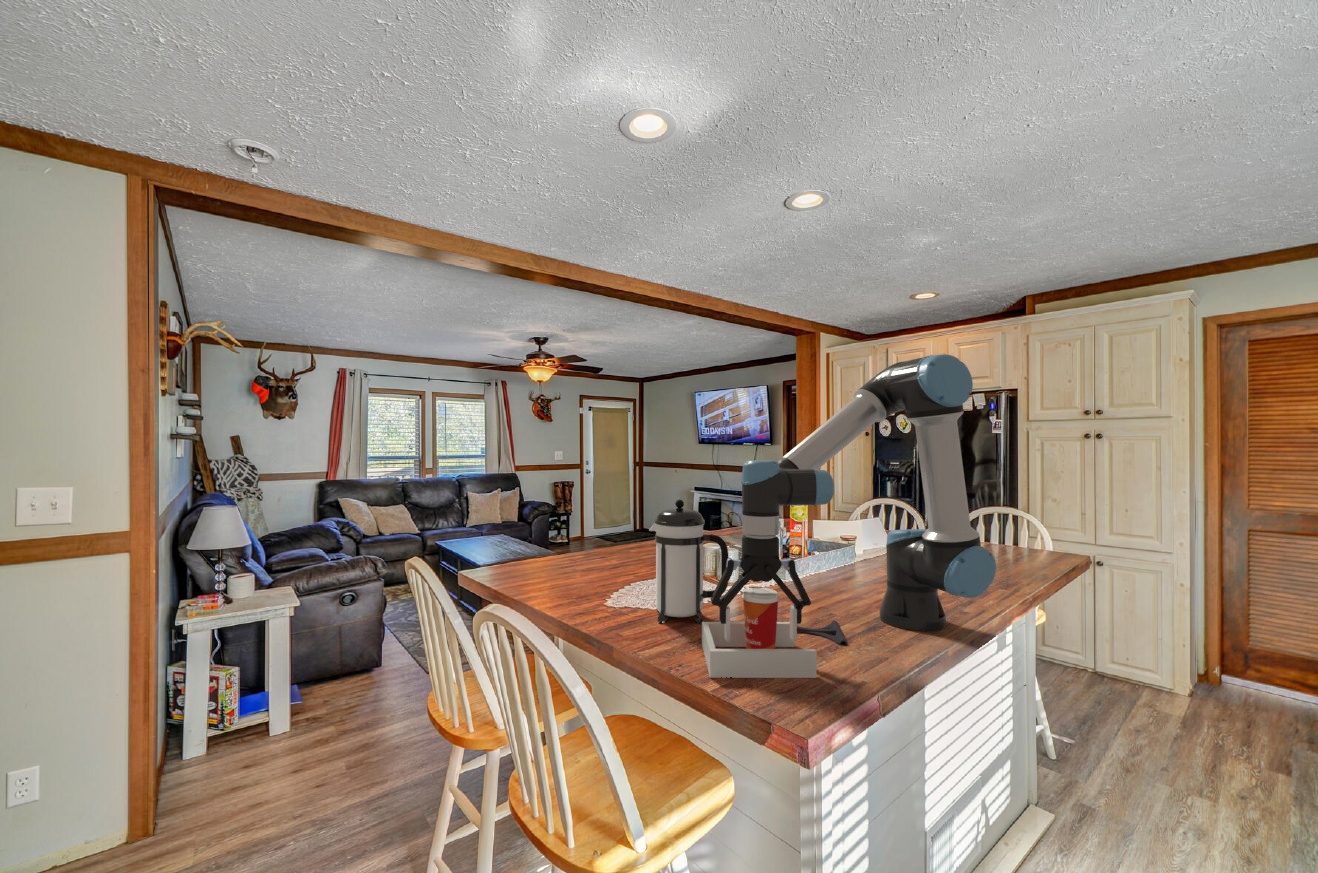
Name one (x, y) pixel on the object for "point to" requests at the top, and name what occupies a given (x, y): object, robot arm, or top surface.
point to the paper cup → (760, 617)
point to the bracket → (826, 632)
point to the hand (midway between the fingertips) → (760, 639)
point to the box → (754, 654)
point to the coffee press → (682, 562)
